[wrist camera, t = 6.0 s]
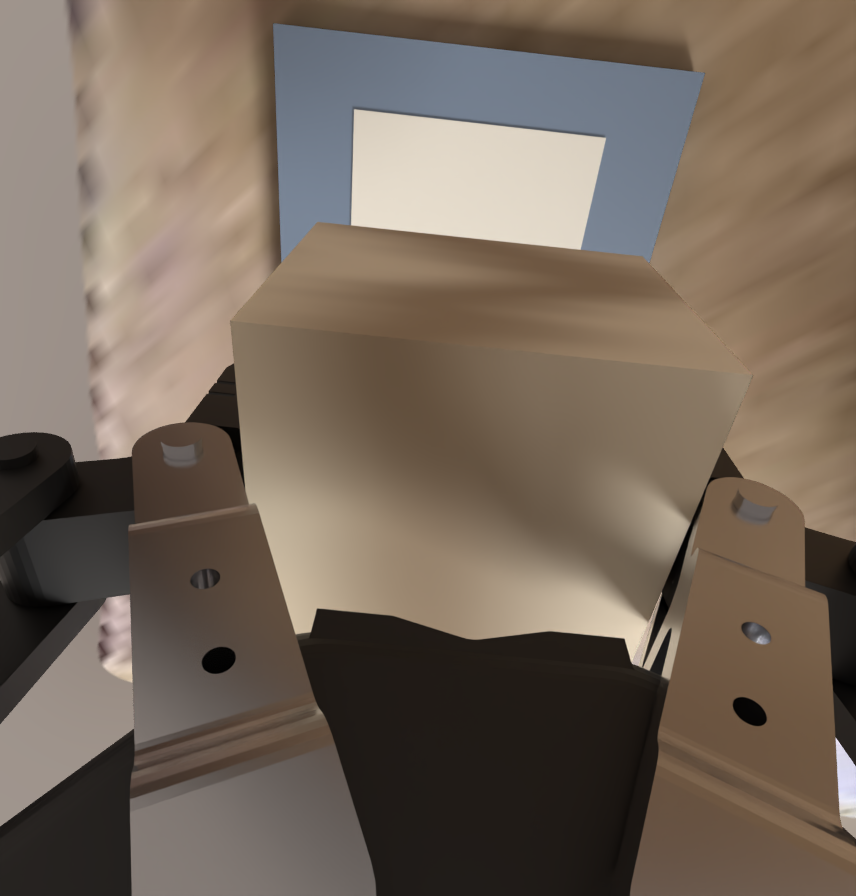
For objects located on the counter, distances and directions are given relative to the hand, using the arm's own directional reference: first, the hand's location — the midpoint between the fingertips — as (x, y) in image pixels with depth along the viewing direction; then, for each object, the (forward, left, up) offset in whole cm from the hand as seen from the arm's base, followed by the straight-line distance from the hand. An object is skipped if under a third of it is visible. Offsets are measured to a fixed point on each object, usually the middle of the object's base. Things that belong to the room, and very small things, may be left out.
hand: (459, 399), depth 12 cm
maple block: (0, 0, -1) cm, 1 cm away
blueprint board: (0, +7, -12) cm, 14 cm away
